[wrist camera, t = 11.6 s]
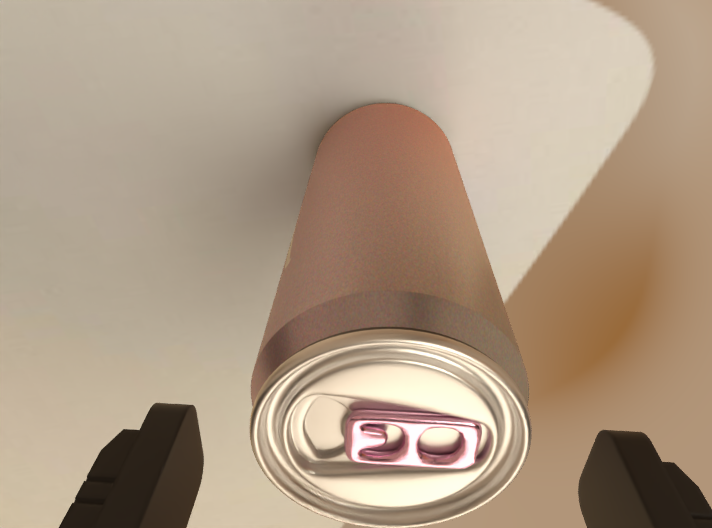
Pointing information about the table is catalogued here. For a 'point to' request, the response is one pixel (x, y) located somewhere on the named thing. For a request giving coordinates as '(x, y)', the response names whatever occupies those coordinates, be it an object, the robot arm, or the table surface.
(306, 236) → the beverage can
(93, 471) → the robot arm
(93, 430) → the table surface
